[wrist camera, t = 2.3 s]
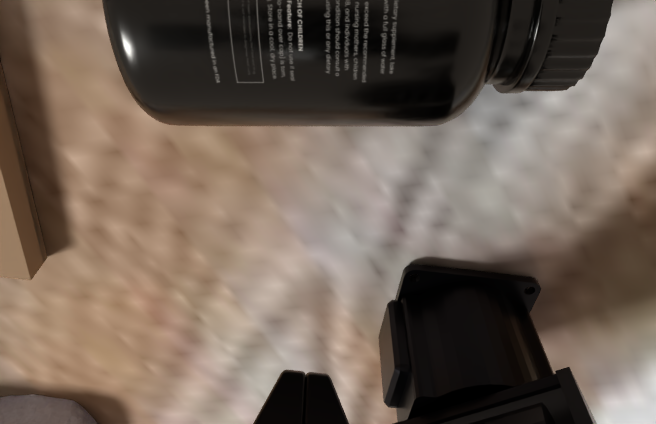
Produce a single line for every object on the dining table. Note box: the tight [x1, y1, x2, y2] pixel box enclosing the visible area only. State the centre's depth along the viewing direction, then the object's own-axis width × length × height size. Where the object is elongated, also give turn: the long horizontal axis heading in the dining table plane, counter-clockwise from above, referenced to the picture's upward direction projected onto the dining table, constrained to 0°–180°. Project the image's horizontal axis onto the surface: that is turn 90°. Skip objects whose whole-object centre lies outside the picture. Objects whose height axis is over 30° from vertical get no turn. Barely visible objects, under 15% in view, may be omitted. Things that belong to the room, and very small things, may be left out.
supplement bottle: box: [102, 0, 613, 126], centre depth 15 cm, size 7×7×12 cm
